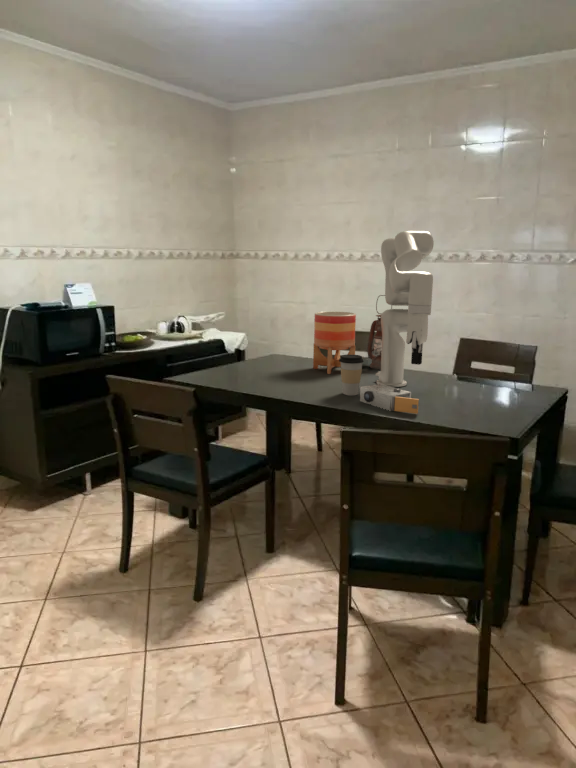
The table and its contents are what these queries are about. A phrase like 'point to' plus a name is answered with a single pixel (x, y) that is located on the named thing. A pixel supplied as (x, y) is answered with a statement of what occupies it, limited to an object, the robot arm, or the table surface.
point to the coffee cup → (351, 373)
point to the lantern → (375, 327)
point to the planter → (333, 337)
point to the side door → (405, 404)
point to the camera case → (381, 395)
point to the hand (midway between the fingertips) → (416, 363)
